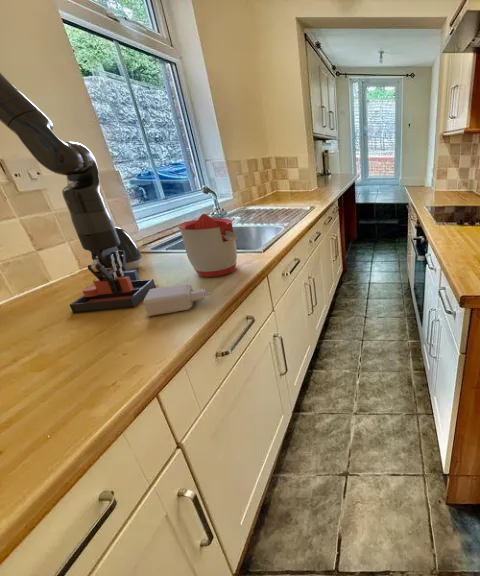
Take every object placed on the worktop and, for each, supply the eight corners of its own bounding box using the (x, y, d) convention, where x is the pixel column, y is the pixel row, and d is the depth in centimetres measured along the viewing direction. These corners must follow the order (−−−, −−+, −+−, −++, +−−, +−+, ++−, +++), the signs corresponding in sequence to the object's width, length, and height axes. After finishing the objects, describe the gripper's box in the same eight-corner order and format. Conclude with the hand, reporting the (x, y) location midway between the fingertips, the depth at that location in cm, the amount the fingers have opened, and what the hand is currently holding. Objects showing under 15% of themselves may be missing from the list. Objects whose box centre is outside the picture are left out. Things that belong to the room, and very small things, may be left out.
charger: (213, 306, 86) (148, 318, 81) (215, 293, 94) (155, 303, 88) (209, 291, 84) (142, 301, 79) (211, 278, 92) (150, 287, 86)
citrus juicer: (228, 282, 102) (214, 219, 94) (180, 278, 105) (163, 217, 96) (254, 265, 116) (244, 210, 108) (212, 262, 119) (199, 208, 110)
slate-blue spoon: (136, 284, 100) (132, 273, 98) (95, 288, 98) (90, 276, 96) (141, 280, 103) (137, 268, 102) (102, 283, 101) (97, 271, 99)
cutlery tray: (73, 313, 83) (69, 304, 82) (103, 291, 96) (100, 283, 95) (133, 307, 86) (130, 299, 85) (155, 286, 99) (153, 279, 98)
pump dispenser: (143, 262, 120) (130, 222, 113) (146, 269, 112) (132, 227, 106) (109, 268, 114) (92, 226, 107) (110, 276, 106) (93, 232, 100)
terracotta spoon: (129, 293, 86) (123, 279, 84) (81, 297, 84) (75, 283, 82) (135, 287, 89) (130, 274, 88) (89, 291, 87) (83, 278, 86)
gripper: (94, 223, 85) (117, 282, 92) (59, 236, 73) (89, 303, 80) (126, 222, 87) (146, 280, 94) (97, 234, 75) (123, 300, 82)
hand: (119, 290), depth 87 cm, fingers closed on terracotta spoon, 2 cm apart
